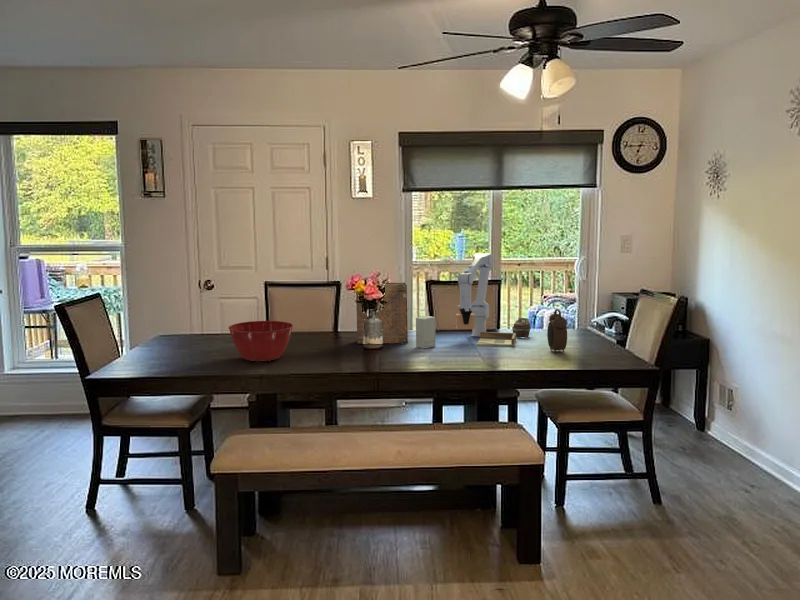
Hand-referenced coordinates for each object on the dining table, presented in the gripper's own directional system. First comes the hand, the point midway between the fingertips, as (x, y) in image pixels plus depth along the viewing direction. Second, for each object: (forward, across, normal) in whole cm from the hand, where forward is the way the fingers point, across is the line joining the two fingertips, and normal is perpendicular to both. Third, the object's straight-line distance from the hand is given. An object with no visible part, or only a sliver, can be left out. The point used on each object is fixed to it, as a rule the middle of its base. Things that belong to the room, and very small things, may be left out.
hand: (465, 323), depth 325 cm
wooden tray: (+9, +5, +15) cm, 18 cm away
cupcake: (+10, -12, +31) cm, 34 cm away
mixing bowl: (+10, +35, -96) cm, 103 cm away
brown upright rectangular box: (+10, -1, -42) cm, 43 cm away
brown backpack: (+10, +28, +39) cm, 49 cm away
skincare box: (+10, +12, -21) cm, 26 cm away
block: (+2, 0, 0) cm, 2 cm away
